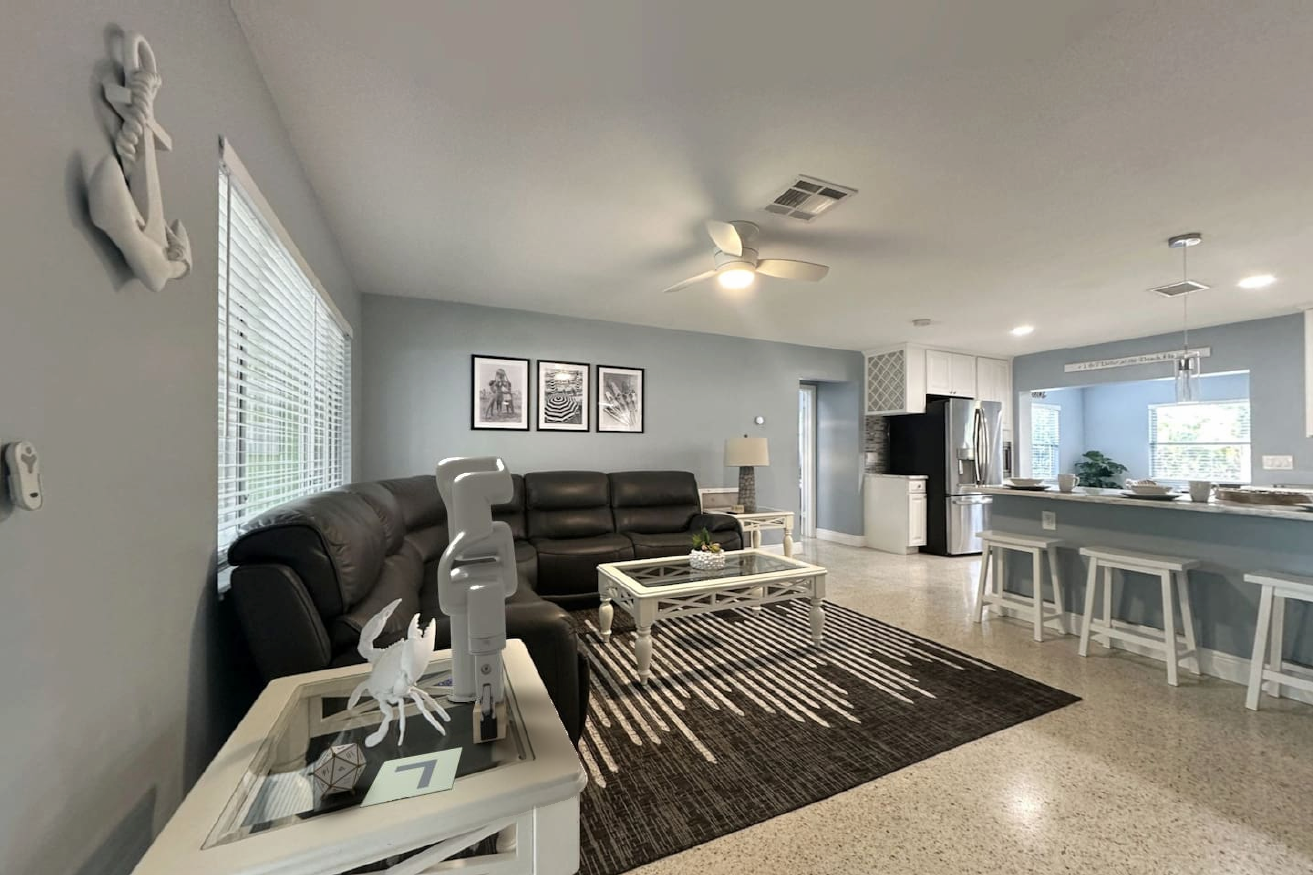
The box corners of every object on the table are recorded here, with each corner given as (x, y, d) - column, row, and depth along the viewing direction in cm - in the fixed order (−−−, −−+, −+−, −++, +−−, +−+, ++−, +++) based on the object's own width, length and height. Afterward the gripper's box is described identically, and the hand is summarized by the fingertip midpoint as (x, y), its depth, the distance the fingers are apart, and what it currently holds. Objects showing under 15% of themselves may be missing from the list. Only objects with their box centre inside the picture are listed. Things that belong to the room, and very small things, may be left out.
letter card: (384, 762, 95) (384, 761, 95) (462, 747, 98) (462, 746, 98) (360, 807, 81) (360, 806, 81) (451, 788, 85) (451, 787, 85)
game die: (342, 820, 84) (325, 792, 79) (307, 795, 87) (289, 766, 82) (386, 769, 91) (374, 740, 86) (353, 747, 94) (339, 717, 89)
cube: (477, 729, 106) (476, 700, 106) (506, 724, 107) (505, 695, 108) (473, 743, 100) (472, 712, 100) (505, 737, 101) (503, 707, 102)
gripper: (503, 652, 98) (507, 748, 96) (507, 628, 114) (511, 710, 113) (463, 658, 96) (466, 756, 94) (473, 633, 112) (476, 716, 111)
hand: (490, 730), depth 103 cm, fingers closed on cube, 6 cm apart
